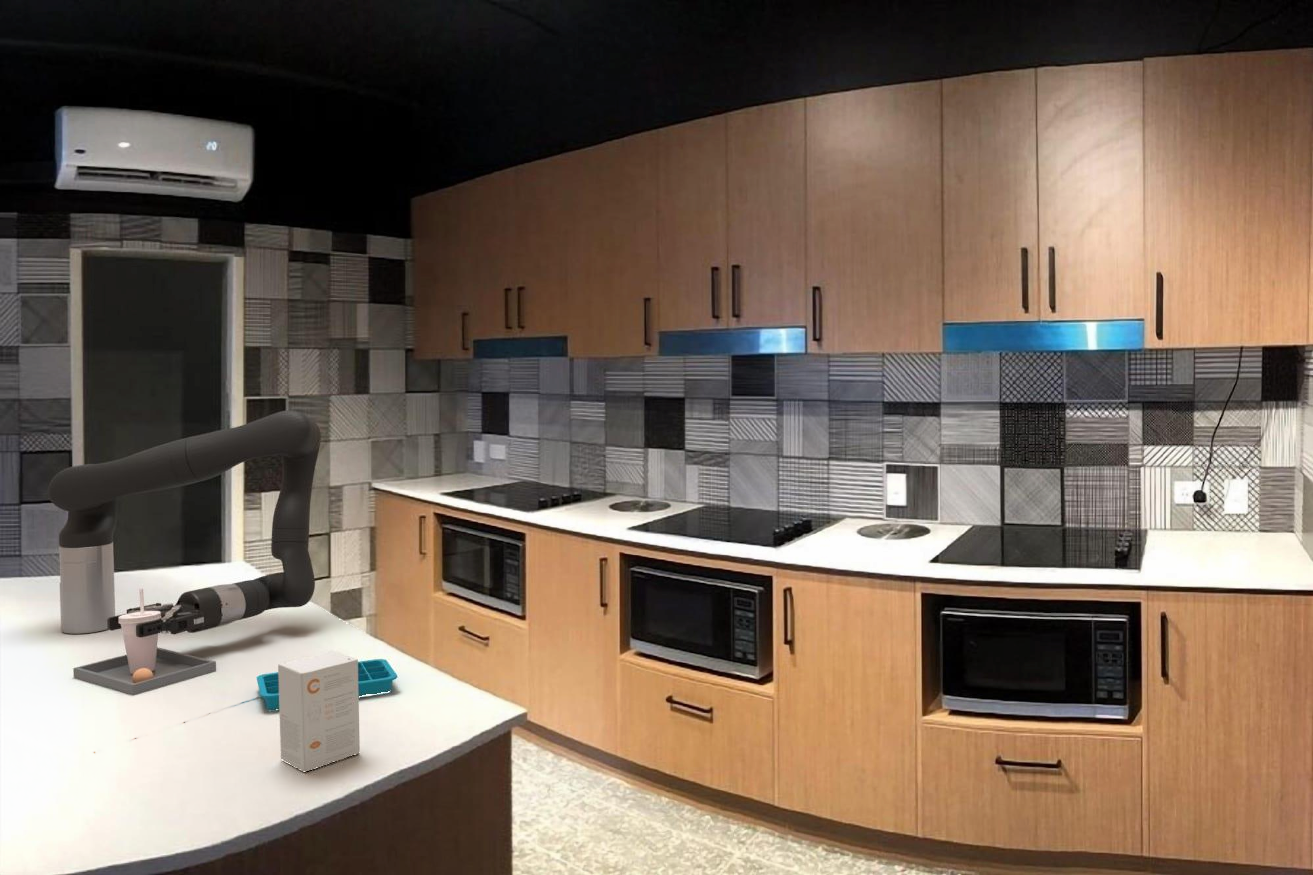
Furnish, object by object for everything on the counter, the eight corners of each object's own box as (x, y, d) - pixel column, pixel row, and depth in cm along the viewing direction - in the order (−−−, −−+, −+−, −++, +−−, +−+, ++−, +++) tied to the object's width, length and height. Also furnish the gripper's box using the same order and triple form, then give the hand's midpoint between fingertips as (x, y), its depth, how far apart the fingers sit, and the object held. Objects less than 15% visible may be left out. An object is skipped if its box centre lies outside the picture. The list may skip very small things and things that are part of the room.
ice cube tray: (256, 693, 145) (256, 675, 145) (385, 675, 154) (384, 658, 154) (261, 716, 134) (261, 697, 134) (399, 695, 144) (398, 677, 144)
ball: (128, 687, 145) (127, 669, 145) (146, 682, 148) (146, 664, 147) (139, 690, 143) (138, 672, 143) (157, 685, 146) (157, 667, 146)
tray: (73, 679, 150) (73, 667, 150) (156, 657, 162) (156, 647, 162) (133, 697, 142) (132, 685, 141) (216, 673, 154) (215, 661, 154)
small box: (335, 742, 124) (334, 649, 123) (361, 754, 120) (359, 658, 119) (278, 761, 118) (276, 663, 117) (303, 774, 114) (301, 673, 113)
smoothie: (144, 676, 149) (140, 592, 149) (111, 676, 151) (107, 592, 151) (172, 666, 156) (168, 585, 156) (140, 666, 157) (136, 586, 157)
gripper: (187, 582, 169) (98, 600, 155) (235, 591, 162) (146, 611, 148) (188, 622, 169) (99, 643, 155) (236, 632, 162) (147, 656, 148)
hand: (122, 627), depth 151 cm, fingers open, 8 cm apart
